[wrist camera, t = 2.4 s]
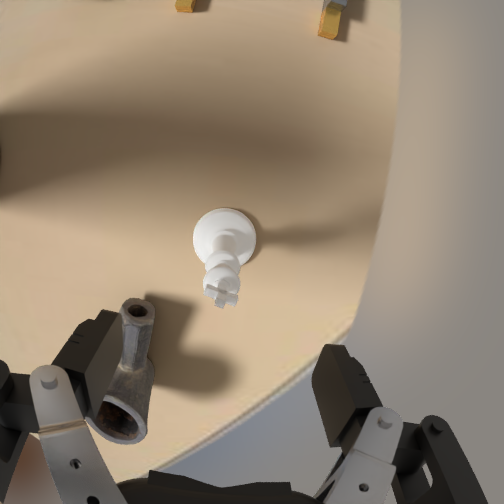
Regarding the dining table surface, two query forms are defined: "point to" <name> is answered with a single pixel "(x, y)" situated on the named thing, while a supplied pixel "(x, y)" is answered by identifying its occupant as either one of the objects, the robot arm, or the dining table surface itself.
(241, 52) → the dining table surface
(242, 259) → the chess piece
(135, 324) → the pipe
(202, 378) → the dining table surface
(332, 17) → the bracket
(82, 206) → the dining table surface
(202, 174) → the dining table surface
